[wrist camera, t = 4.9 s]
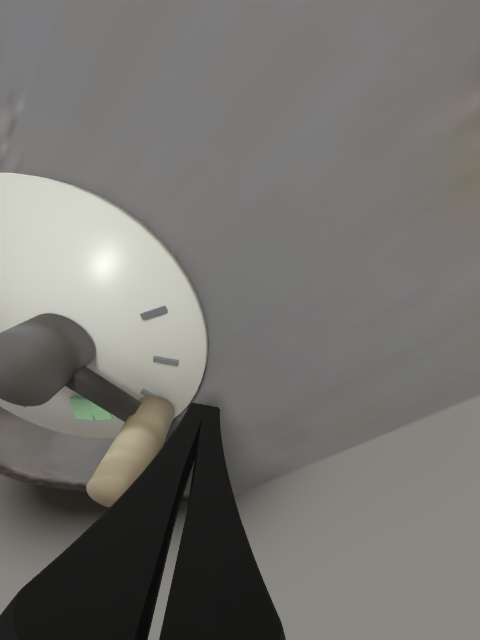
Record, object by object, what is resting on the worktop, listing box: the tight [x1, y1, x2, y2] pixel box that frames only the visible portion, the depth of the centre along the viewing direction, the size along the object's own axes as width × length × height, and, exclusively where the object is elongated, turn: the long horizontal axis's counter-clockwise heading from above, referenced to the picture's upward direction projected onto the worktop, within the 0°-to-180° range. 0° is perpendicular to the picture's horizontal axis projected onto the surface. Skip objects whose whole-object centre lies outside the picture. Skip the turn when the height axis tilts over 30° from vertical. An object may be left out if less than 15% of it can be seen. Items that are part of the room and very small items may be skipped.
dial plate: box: [0, 173, 209, 439], centre depth 13 cm, size 16×16×1 cm
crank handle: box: [0, 313, 175, 507], centre depth 11 cm, size 10×4×5 cm, turn 46°
